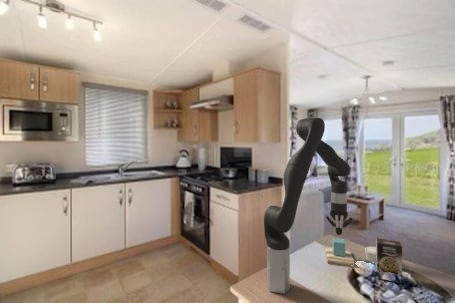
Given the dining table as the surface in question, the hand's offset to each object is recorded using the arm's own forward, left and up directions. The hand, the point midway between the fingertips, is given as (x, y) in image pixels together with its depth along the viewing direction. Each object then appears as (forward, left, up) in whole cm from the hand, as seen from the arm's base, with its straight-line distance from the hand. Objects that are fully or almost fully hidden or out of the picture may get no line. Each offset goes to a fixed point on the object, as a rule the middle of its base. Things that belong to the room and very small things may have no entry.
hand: (338, 234), depth 122 cm
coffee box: (-14, -18, -13) cm, 26 cm away
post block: (0, 0, -12) cm, 12 cm away
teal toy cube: (0, 0, -10) cm, 10 cm away
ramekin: (+2, -18, -13) cm, 22 cm away
